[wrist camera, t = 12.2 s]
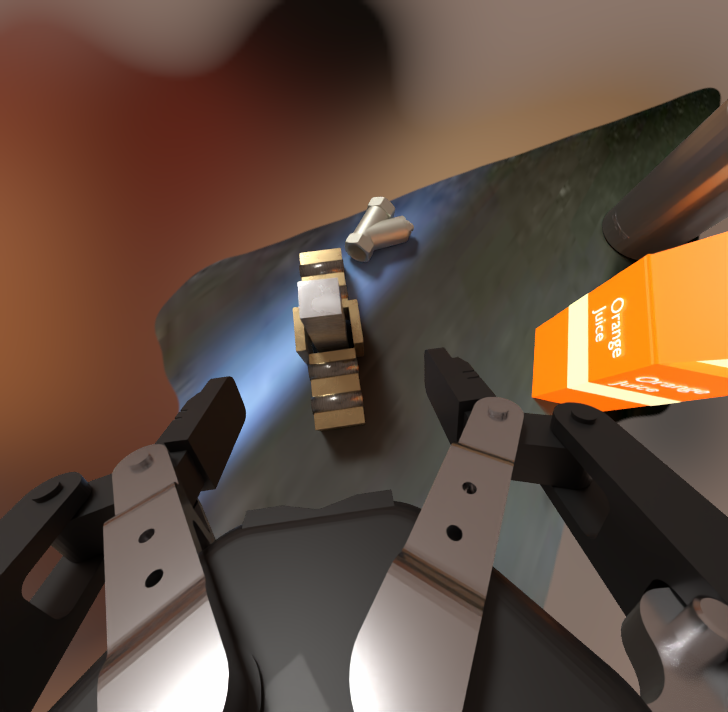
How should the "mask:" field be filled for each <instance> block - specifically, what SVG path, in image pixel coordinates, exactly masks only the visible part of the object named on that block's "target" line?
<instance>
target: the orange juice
mask: <svg viewBox="0 0 728 712" xmlns="http://www.w3.org/2000/svg"><path fill="white" fill-rule="evenodd" d="M721 396H728V232H725V233H721V234H718V235H715V236H711V237H708V238H705V239H702V240H698V241H695V242H691V243H688V244H685V245H681V246H678V247H675V248H671V249H668V250H665V251H661V252H658V253H655V254H648V255H646V256H645V257H643V258H642V259H640V260H639V261H637V262H636V263H634V264H633V265H631V266H629V267H628V268H626V269H625V270H623V271H622V272H620V273H619V274H617V275H616V276H614V277H613V278H611V279H610V280H608V281H607V282H605V283H604V284H602V285H601V286H599V287H598V288H596V289H595V290H593V291H592V292H590V293H589V294H586V295H585V296H583V297H582V298H580V299H579V300H577V301H576V302H574V303H573V304H571V305H570V306H569V307H568V308H566V309H565V310H563V311H562V312H560V313H559V314H557V315H556V316H554V317H553V318H551V319H550V320H548V321H547V322H545V323H544V324H542V325H541V326H539V327H538V328H536V335H535V353H534V371H533V389H532V397H534V398H538V399H543V400H547V401H552V402H557V403H566V402H575V403H582V404H586V405H589V406H592V407H594V408H597V409H599V410H601V411H610V410H617V409H625V408H633V407H641V406H649V405H650V406H654V405H662V404H670V403H677V402H681V401H688V400H697V399H704V398H712V397H721Z"/></svg>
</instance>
